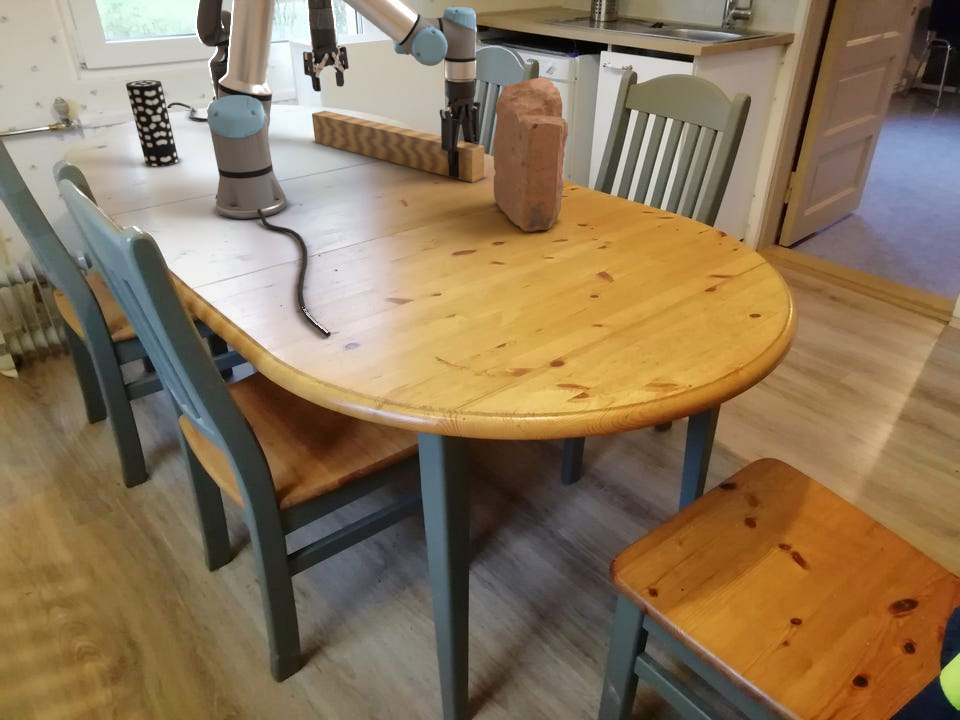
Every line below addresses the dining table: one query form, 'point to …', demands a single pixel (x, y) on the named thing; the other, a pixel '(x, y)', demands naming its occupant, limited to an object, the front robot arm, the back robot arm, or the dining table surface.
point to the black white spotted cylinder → (152, 122)
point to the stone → (529, 153)
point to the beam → (396, 144)
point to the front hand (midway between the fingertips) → (460, 173)
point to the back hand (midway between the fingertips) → (329, 88)
